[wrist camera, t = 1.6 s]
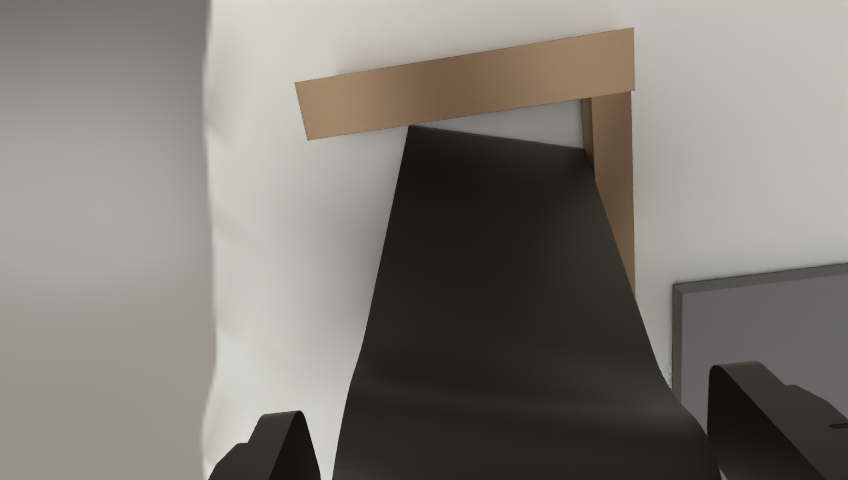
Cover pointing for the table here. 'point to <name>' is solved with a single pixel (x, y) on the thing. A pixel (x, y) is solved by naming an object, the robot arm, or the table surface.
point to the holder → (502, 103)
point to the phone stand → (508, 331)
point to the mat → (763, 332)
